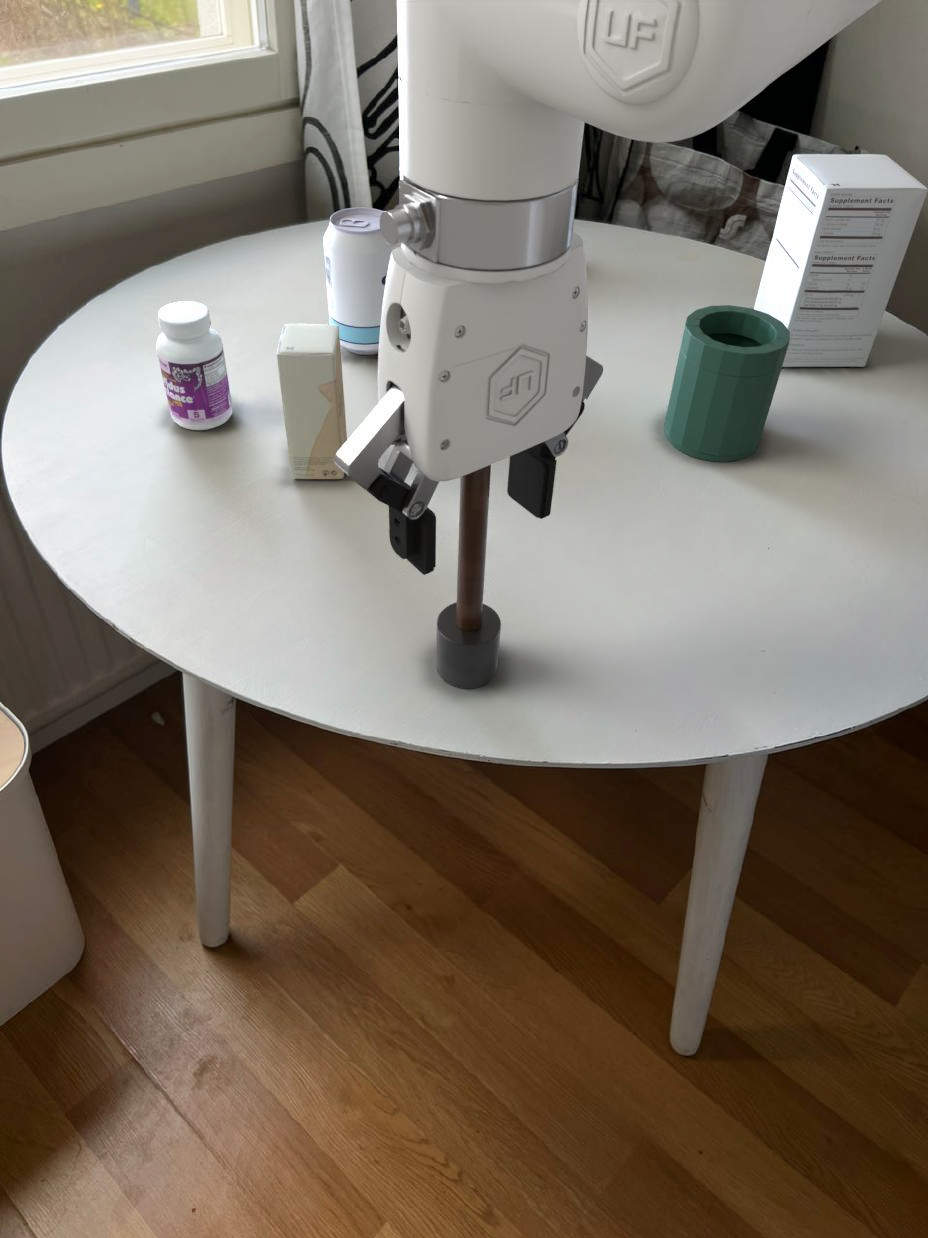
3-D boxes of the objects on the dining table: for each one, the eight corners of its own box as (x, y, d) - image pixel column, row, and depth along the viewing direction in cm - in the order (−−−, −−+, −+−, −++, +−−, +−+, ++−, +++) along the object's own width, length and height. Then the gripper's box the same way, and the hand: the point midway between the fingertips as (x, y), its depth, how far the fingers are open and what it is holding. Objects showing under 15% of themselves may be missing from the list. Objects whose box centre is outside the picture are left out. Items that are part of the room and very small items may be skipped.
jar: (739, 407, 84) (767, 303, 77) (772, 459, 78) (806, 351, 71) (652, 412, 83) (673, 306, 76) (679, 464, 77) (704, 355, 70)
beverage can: (391, 364, 88) (388, 238, 79) (322, 355, 88) (311, 229, 80) (409, 330, 93) (407, 208, 84) (343, 322, 93) (335, 200, 85)
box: (343, 481, 74) (334, 355, 66) (290, 480, 74) (274, 354, 66) (348, 444, 78) (339, 321, 70) (297, 443, 78) (283, 320, 70)
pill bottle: (158, 423, 79) (133, 318, 72) (194, 394, 83) (173, 291, 76) (212, 438, 78) (192, 332, 71) (245, 407, 81) (229, 304, 75)
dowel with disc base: (492, 641, 62) (506, 438, 50) (502, 686, 59) (519, 481, 48) (433, 646, 61) (434, 442, 50) (440, 691, 58) (443, 486, 47)
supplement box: (867, 368, 90) (933, 189, 78) (775, 369, 89) (828, 188, 77) (832, 322, 96) (888, 151, 85) (746, 323, 96) (791, 150, 84)
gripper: (366, 297, 34) (382, 634, 46) (688, 200, 42) (628, 510, 54) (266, 229, 38) (305, 555, 50) (576, 153, 46) (544, 451, 58)
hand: (472, 530), depth 52 cm, fingers open, 7 cm apart
